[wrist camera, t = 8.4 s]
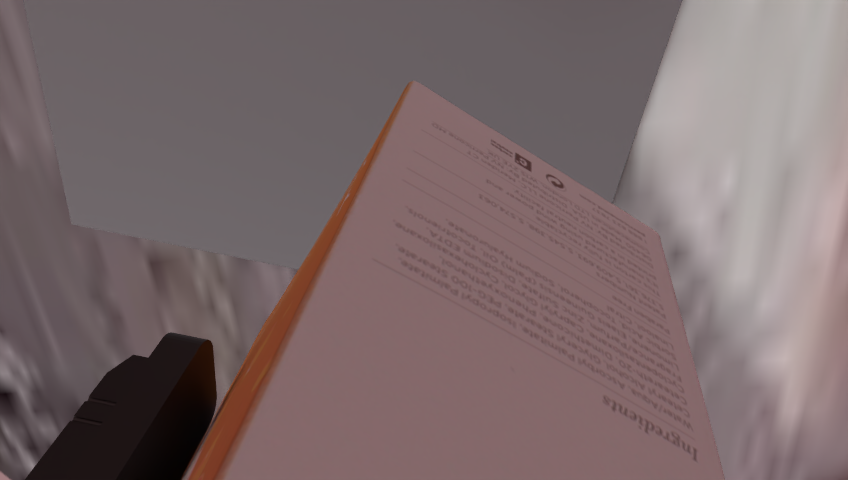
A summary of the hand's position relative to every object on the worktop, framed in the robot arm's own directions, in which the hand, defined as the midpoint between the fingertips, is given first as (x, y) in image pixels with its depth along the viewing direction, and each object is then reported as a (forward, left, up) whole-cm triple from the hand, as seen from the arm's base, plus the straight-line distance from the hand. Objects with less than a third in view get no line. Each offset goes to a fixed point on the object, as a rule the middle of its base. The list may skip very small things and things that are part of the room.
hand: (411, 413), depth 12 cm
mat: (+5, 0, -14) cm, 15 cm away
